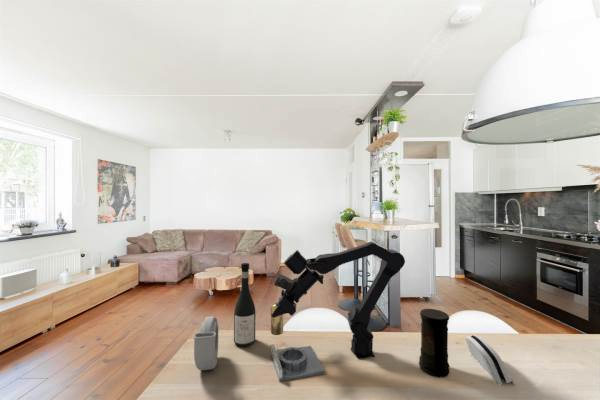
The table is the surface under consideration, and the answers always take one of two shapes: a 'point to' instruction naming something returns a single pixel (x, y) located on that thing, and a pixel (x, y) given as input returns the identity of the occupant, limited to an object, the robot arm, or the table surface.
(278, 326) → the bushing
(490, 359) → the grey curved piece
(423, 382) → the table surface
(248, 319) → the wine bottle
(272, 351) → the jig
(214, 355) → the grey curved holder
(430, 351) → the container
